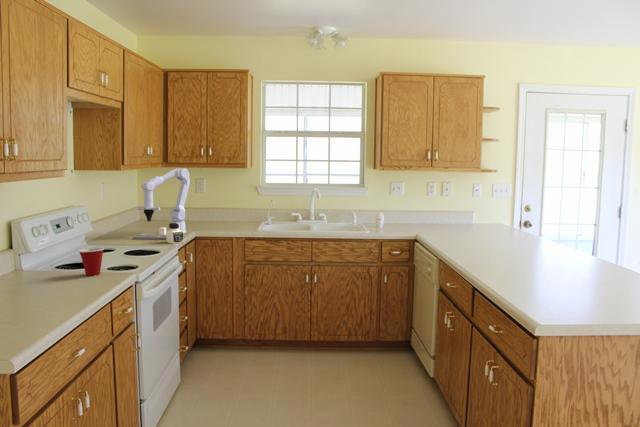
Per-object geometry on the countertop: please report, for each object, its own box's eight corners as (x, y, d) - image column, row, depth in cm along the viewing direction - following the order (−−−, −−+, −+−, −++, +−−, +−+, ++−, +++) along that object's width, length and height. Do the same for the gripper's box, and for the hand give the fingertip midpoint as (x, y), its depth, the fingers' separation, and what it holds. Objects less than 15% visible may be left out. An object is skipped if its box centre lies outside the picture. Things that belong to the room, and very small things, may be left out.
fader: (161, 235, 330) (161, 227, 329) (166, 235, 329) (166, 227, 329) (159, 235, 326) (159, 227, 326) (164, 235, 326) (164, 227, 325)
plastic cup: (97, 270, 239) (96, 245, 238) (110, 274, 233) (109, 248, 231) (74, 275, 230) (73, 249, 229) (87, 278, 224) (86, 251, 223)
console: (142, 235, 337) (142, 231, 336) (175, 236, 334) (175, 232, 334) (133, 239, 323) (133, 235, 322) (166, 240, 321) (166, 236, 320)
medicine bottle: (173, 243, 308) (173, 224, 306) (166, 242, 312) (165, 223, 311) (183, 242, 314) (182, 222, 312) (176, 240, 318) (175, 221, 316)
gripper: (134, 200, 325) (135, 221, 326) (156, 201, 323) (157, 222, 325) (139, 199, 332) (140, 220, 333) (161, 200, 330) (162, 220, 332)
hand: (149, 221), depth 330 cm, fingers closed
